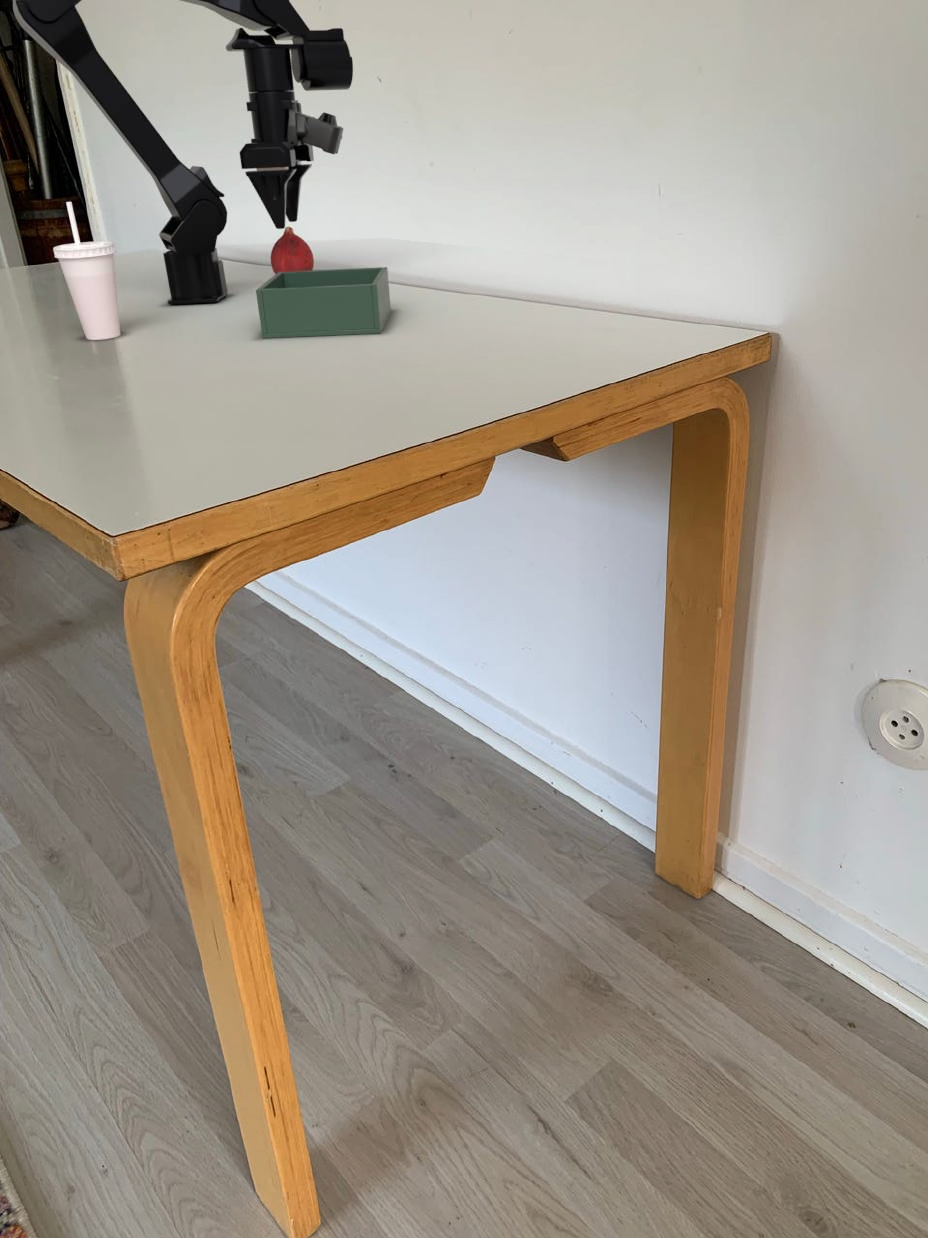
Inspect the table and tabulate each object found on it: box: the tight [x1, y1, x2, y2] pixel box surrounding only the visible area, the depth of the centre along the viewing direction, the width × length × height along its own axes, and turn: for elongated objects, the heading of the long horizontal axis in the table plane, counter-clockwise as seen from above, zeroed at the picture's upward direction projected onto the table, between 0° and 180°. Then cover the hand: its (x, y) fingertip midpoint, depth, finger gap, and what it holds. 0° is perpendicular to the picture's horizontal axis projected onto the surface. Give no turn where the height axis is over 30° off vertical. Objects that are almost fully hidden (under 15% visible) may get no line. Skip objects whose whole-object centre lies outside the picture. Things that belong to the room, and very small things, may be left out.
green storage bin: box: [255, 266, 392, 339], centre depth 107 cm, size 13×13×5 cm
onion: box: [270, 226, 315, 275], centre depth 130 cm, size 6×6×8 cm
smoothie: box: [52, 201, 122, 341], centre depth 104 cm, size 6×6×14 cm
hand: (287, 224), depth 128 cm, fingers open, 9 cm apart
